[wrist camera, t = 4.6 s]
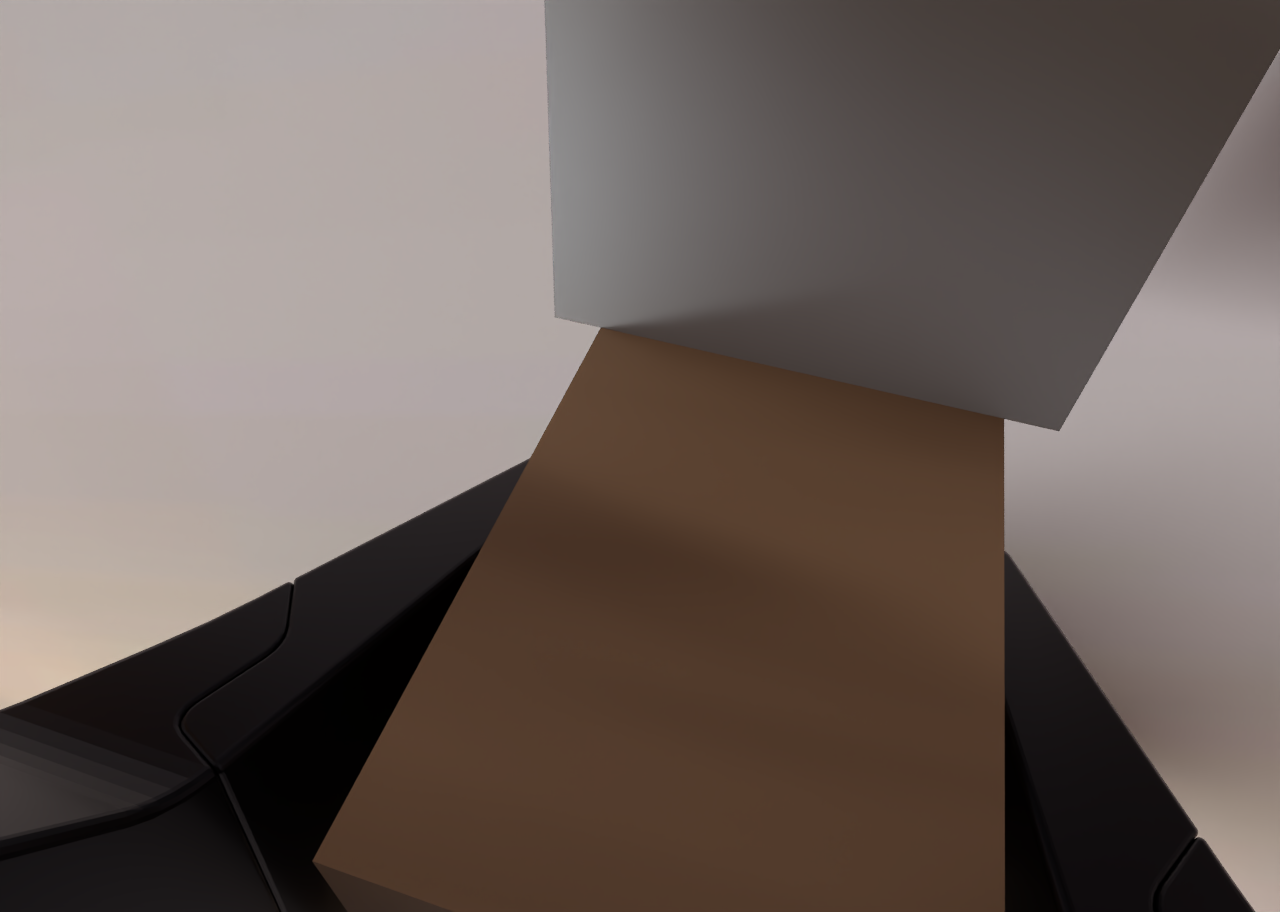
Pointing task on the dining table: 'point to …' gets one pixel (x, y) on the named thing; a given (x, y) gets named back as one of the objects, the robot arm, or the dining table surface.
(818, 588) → the bracket
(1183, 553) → the dining table surface
